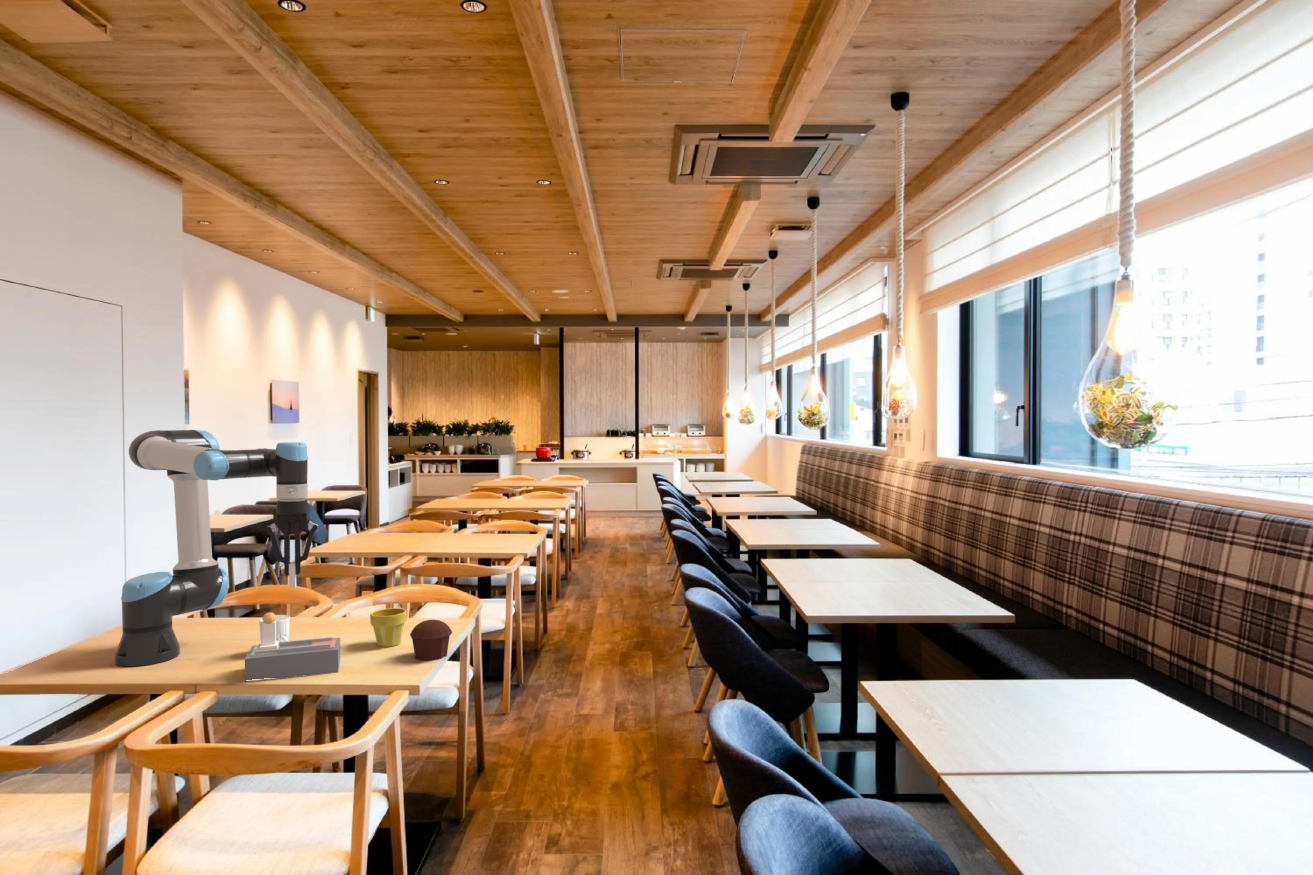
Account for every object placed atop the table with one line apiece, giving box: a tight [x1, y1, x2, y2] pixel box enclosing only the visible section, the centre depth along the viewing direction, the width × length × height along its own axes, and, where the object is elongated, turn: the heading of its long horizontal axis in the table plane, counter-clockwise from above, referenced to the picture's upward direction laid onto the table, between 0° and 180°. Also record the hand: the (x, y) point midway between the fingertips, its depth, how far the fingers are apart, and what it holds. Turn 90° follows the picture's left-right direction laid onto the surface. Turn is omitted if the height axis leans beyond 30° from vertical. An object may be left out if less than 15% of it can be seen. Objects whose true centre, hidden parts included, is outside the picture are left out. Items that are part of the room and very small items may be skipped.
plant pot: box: [369, 607, 408, 648], centre depth 222 cm, size 10×10×10 cm
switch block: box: [244, 636, 341, 681], centre depth 198 cm, size 12×22×7 cm, turn 111°
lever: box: [260, 612, 279, 650], centre depth 196 cm, size 5×4×10 cm
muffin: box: [409, 619, 453, 662], centre depth 210 cm, size 12×11×10 cm
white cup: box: [258, 614, 291, 644], centre depth 214 cm, size 8×8×10 cm
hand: (292, 586), depth 198 cm, fingers closed
